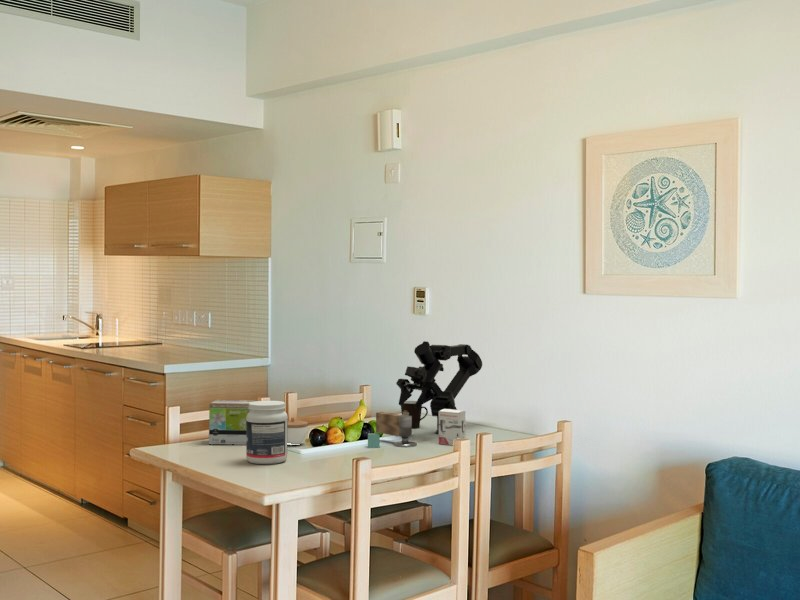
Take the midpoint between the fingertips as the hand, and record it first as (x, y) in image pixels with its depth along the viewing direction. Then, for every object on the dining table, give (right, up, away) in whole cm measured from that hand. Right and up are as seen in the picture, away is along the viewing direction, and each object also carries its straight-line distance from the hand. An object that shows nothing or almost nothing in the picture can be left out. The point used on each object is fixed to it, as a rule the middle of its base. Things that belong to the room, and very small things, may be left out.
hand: (407, 405), depth 310 cm
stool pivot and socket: (-5, -12, -11) cm, 17 cm away
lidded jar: (-40, -13, -10) cm, 43 cm away
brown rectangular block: (-5, -9, -6) cm, 12 cm away
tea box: (-62, -13, -6) cm, 63 cm away
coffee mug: (+2, -12, +28) cm, 30 cm away
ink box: (+15, -13, -8) cm, 21 cm away
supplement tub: (-44, -13, -39) cm, 61 cm away
